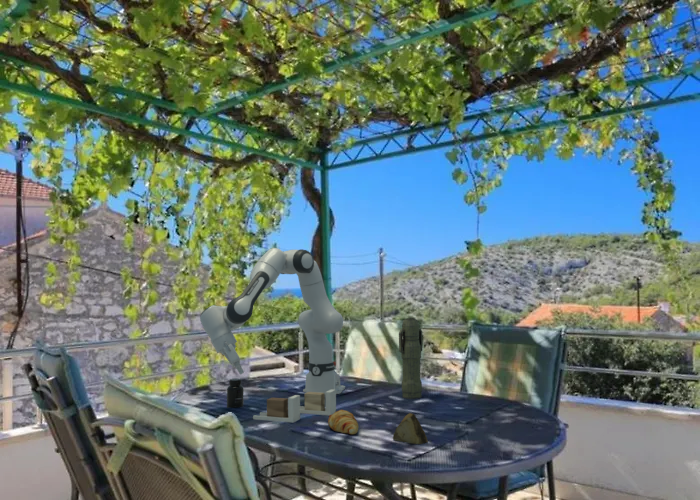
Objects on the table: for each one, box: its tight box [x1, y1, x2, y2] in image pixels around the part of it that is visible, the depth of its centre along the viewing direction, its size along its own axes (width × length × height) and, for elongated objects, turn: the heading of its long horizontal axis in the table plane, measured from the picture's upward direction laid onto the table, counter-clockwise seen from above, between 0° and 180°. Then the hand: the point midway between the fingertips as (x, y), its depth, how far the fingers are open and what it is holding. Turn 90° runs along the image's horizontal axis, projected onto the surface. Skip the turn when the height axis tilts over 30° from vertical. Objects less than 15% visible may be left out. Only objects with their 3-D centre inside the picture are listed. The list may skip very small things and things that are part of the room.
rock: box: [392, 412, 429, 445], centre depth 191 cm, size 11×9×10 cm
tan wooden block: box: [304, 392, 326, 411], centre depth 229 cm, size 4×7×8 cm, turn 69°
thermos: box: [398, 318, 424, 400], centre depth 260 cm, size 9×12×35 cm
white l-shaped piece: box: [300, 389, 337, 416], centre depth 229 cm, size 6×17×10 cm, turn 69°
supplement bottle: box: [226, 378, 244, 409], centre depth 243 cm, size 7×7×12 cm
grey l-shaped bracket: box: [252, 394, 301, 423], centre depth 219 cm, size 6×17×10 cm, turn 69°
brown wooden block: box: [266, 397, 288, 418], centre depth 219 cm, size 4×7×8 cm, turn 69°
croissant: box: [327, 409, 360, 435], centre depth 207 cm, size 21×10×8 cm, turn 26°
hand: (242, 373), depth 231 cm, fingers closed
